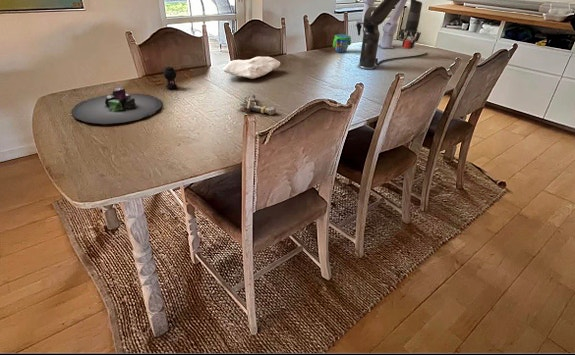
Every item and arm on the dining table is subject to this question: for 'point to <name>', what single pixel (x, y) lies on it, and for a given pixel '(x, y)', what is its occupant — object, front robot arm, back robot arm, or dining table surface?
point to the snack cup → (341, 42)
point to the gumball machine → (170, 77)
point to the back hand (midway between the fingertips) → (363, 35)
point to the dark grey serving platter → (116, 108)
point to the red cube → (407, 44)
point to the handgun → (255, 106)
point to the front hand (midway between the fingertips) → (407, 47)
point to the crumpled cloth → (252, 67)
